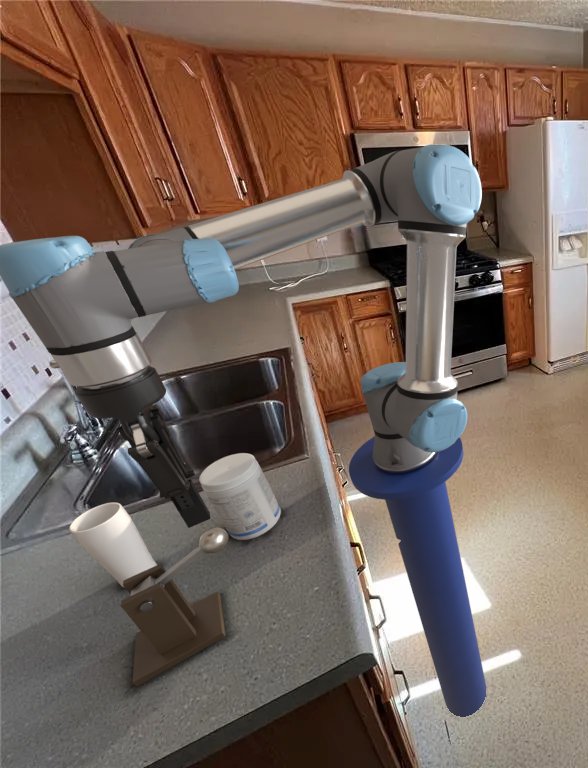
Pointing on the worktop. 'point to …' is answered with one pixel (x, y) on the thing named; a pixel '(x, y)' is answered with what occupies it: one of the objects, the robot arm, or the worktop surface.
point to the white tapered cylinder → (112, 541)
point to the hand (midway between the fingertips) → (199, 520)
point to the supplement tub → (241, 496)
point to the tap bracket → (169, 624)
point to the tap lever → (189, 557)
